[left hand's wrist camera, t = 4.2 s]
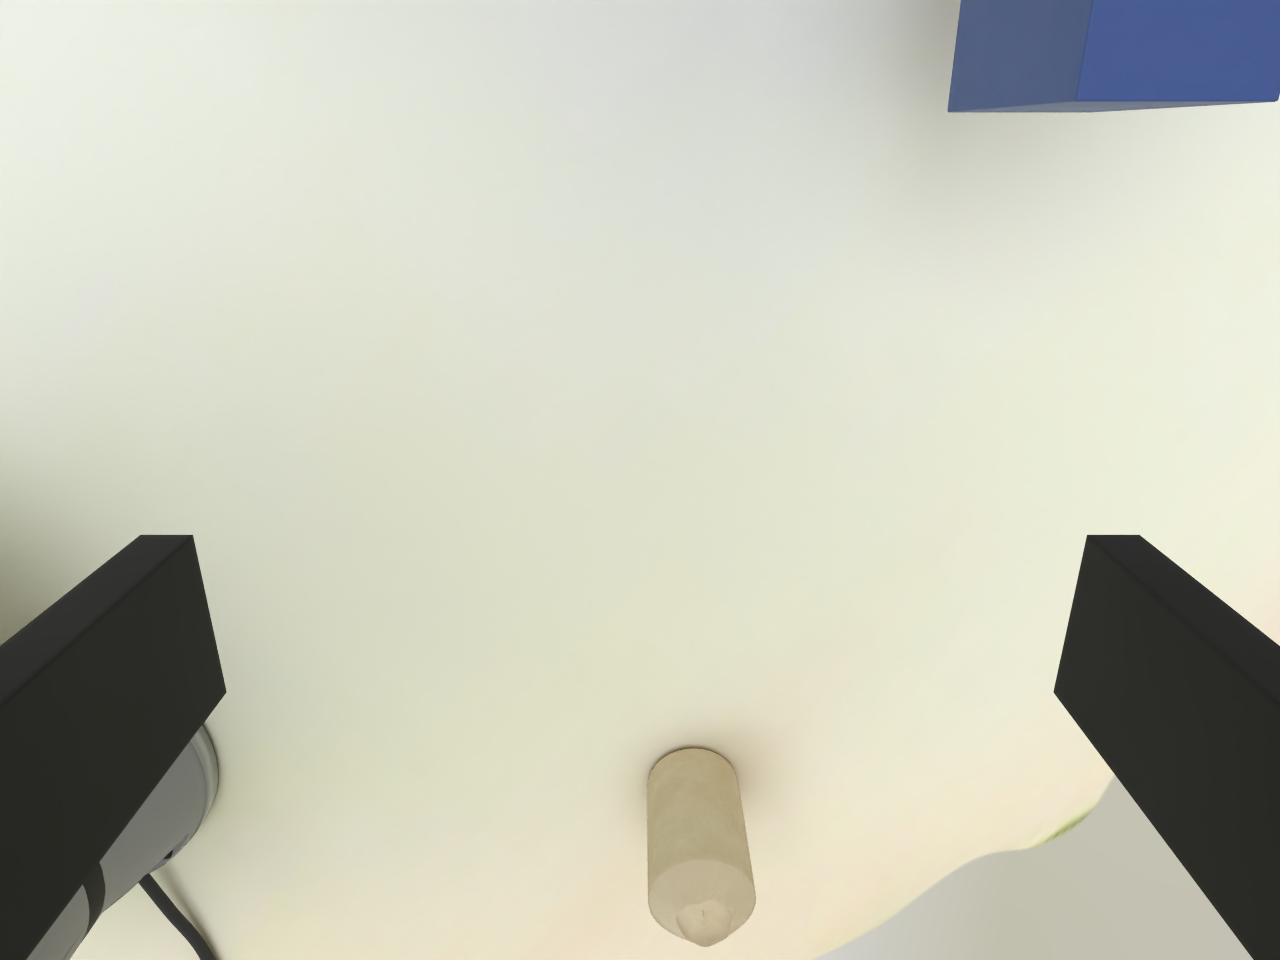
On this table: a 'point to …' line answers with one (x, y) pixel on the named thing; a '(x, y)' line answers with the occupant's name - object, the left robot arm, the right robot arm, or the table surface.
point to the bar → (1114, 54)
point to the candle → (697, 848)
